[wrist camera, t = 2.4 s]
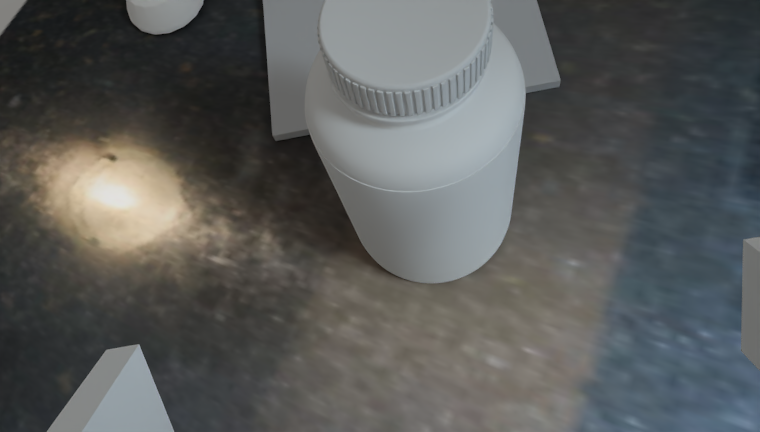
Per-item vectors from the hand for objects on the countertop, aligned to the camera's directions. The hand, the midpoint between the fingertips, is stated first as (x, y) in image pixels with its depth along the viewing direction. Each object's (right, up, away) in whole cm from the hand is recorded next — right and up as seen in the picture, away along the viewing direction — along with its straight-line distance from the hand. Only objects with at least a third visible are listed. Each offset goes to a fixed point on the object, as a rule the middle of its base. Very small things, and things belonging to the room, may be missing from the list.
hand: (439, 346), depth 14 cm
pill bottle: (+1, +3, +19) cm, 19 cm away
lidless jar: (-15, +16, +27) cm, 35 cm away
